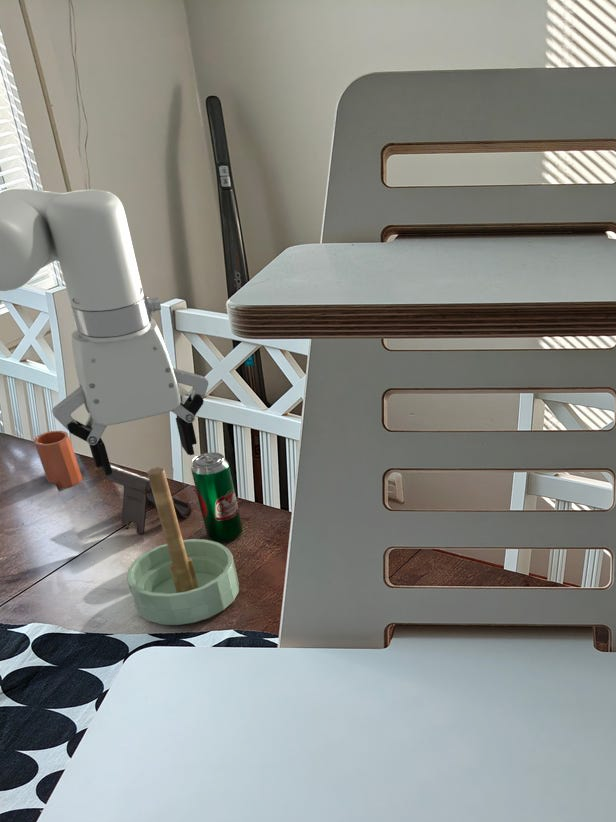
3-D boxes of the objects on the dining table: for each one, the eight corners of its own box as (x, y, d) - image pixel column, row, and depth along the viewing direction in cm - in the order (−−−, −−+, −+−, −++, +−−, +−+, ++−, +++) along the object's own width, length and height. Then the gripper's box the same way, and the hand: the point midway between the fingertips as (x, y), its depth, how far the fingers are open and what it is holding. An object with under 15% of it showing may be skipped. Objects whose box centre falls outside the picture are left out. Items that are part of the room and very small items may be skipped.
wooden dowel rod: (180, 601, 127) (145, 477, 116) (176, 593, 128) (141, 470, 117) (201, 594, 128) (169, 471, 117) (197, 587, 129) (165, 464, 118)
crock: (53, 495, 152) (36, 448, 147) (47, 481, 156) (31, 435, 151) (85, 486, 154) (70, 439, 149) (79, 473, 157) (64, 427, 153)
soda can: (226, 547, 138) (208, 471, 130) (200, 538, 140) (181, 463, 133) (250, 531, 141) (234, 455, 134) (224, 522, 143) (208, 447, 136)
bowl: (151, 640, 121) (140, 608, 118) (126, 589, 130) (116, 557, 127) (253, 607, 126) (246, 575, 123) (222, 560, 135) (215, 529, 132)
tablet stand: (193, 515, 145) (181, 464, 140) (153, 539, 140) (138, 487, 135) (153, 500, 149) (139, 450, 144) (112, 523, 144) (96, 473, 139)
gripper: (182, 293, 111) (210, 431, 122) (22, 321, 105) (67, 465, 115) (200, 312, 106) (228, 455, 116) (34, 343, 100) (79, 492, 110)
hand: (148, 460), depth 116 cm, fingers open, 9 cm apart
